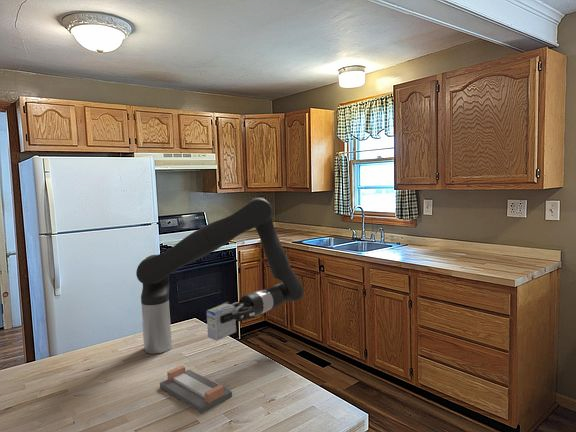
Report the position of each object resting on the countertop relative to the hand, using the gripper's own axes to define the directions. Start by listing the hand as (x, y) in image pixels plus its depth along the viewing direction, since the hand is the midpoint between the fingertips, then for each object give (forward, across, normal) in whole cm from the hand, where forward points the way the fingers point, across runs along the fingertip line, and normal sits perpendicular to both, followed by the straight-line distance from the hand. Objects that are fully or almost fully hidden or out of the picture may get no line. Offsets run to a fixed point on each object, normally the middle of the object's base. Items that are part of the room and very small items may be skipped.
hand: (215, 318), depth 119 cm
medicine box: (-2, 0, +6) cm, 7 cm away
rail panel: (+11, +3, +18) cm, 21 cm away
